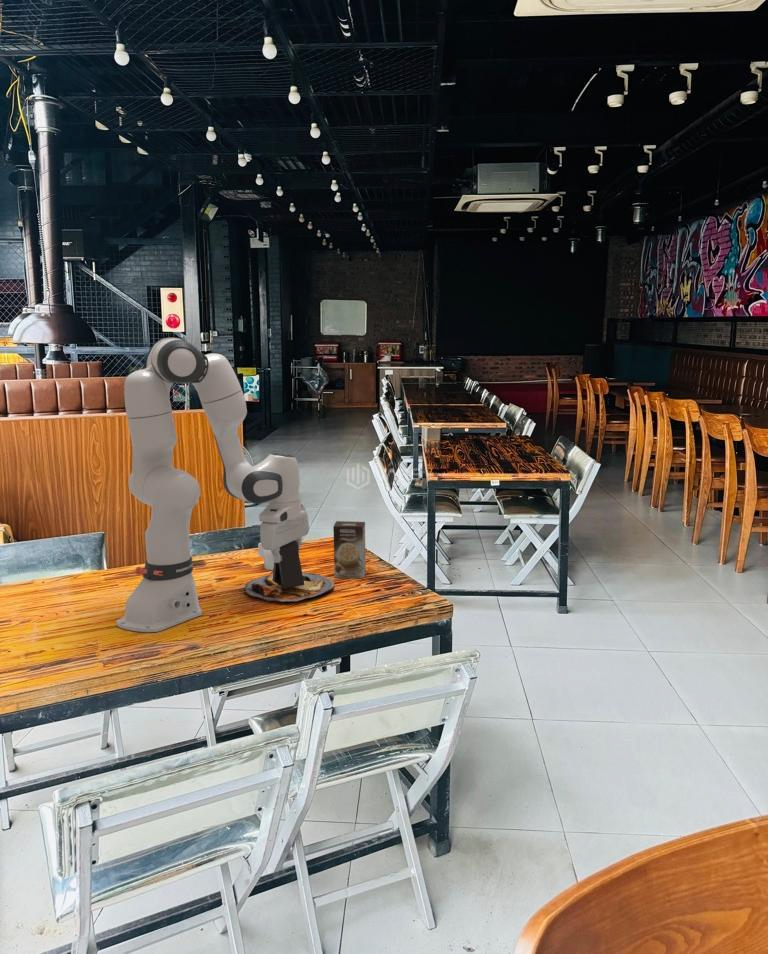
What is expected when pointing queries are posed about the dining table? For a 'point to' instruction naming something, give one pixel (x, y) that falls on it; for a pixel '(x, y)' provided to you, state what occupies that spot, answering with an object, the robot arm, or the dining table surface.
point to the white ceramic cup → (266, 557)
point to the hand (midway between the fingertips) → (287, 557)
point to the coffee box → (349, 549)
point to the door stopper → (288, 567)
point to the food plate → (269, 588)
